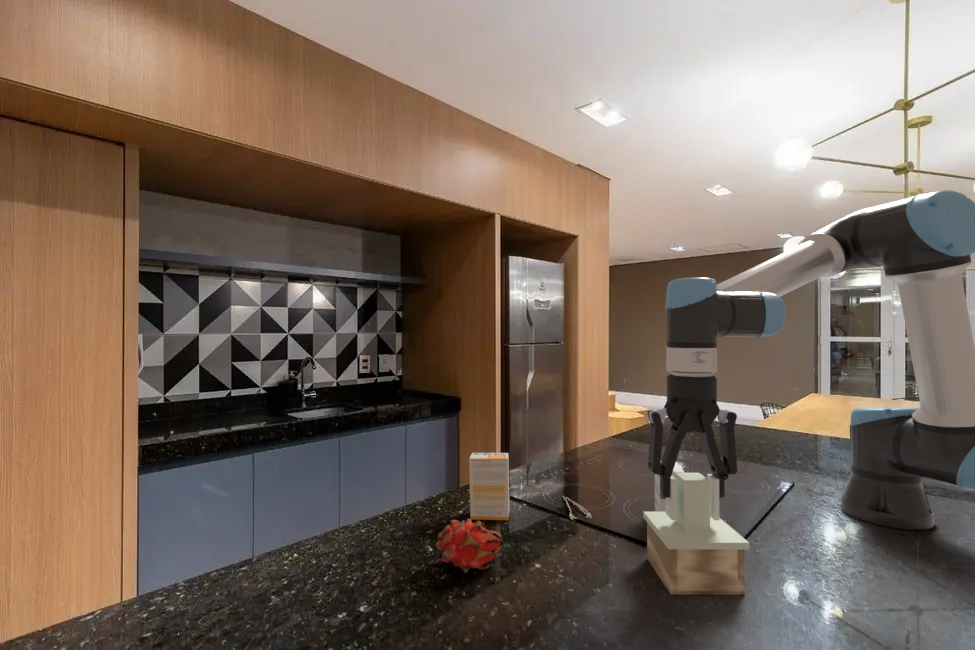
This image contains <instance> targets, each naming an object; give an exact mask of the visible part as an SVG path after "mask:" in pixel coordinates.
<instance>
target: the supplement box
mask: <svg viewBox="0 0 975 650" xmlns="http://www.w3.org/2000/svg"><path fill="white" fill-rule="evenodd" d="M509 459H510V458H509V452H472V453H471V454H470V456H469V458H468V460H469V512H470V513H469V516H470V518H469V519H471V521H475V520H476V521H481V520H483V521H507V522H508V521H509V518H510V466H509V465H510V463H509V461H510V460H509Z"/></svg>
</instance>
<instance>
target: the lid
mask: <svg viewBox="0 0 975 650" xmlns="http://www.w3.org/2000/svg"><path fill="white" fill-rule="evenodd" d="M675 479H676V508H677V520H671V519H670V518H669V517H668V515H667V514H666V512H655V511H643V512H642V513H643V517H642V518H643V519H644V520H645V521H646V523H648V524H649V525H650V526H651V528H652V529H653V530H654V532H655V533H656V534H657V535H658V537H659V538H660V539H661V540H662V542H663V543H664V544H665V546H666V547H667V548H668V549H726V550H744V551H746V550H748V551H749V550H750V542H749V541H748V540H746V539H745V538H744V537H743V536H742V535H741V534H739V533H738V532H737V531H736V530H735V529H734V528H732V527H731V526H730V525H729V524H728V523H726V522H725V521H724V520H723V519H722V518H721V517H719V520H714V519H713V518H711V517H710V480H709V479H707V476H704V475H703V474H702V473H700V472H685V473H675Z"/></svg>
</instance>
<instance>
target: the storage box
mask: <svg viewBox="0 0 975 650" xmlns="http://www.w3.org/2000/svg"><path fill="white" fill-rule="evenodd" d="M646 523H647V522H646ZM646 540H647V543H646V548H647V549H646V550H647V551H646V554H647V561H648V562H649V563H650V566H651V567H652V568H653V570H654V571H655V573H656V575H657V576H658V578H660V579H659V580H661V582H662V583H663V585H664V586H665V588H666V590H667V591H668V592H669V594H670V595H678V596H679V595H683V596H684V595H685V596H686V595H695V596H697V595H698V596H699V595H700V596H701V595H703V596H704V595H708V596H713V595H714V596H716V595H717V596H724V595H725V596H726V595H727V596H738V595H739V596H744V595H746V593H745V592H746V591H745V589H746V588H745V579H746V578H745V576H746V574H745V550H726V549H668V548H667V547H666V546H665V544H664V543H663V542H662V540H661V539H660V538H659V537H658V535H657V534H656V533H655V532H654V530H653V529H652V528H651V526H650V525H649V524H648V523H647V524H646Z"/></svg>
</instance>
